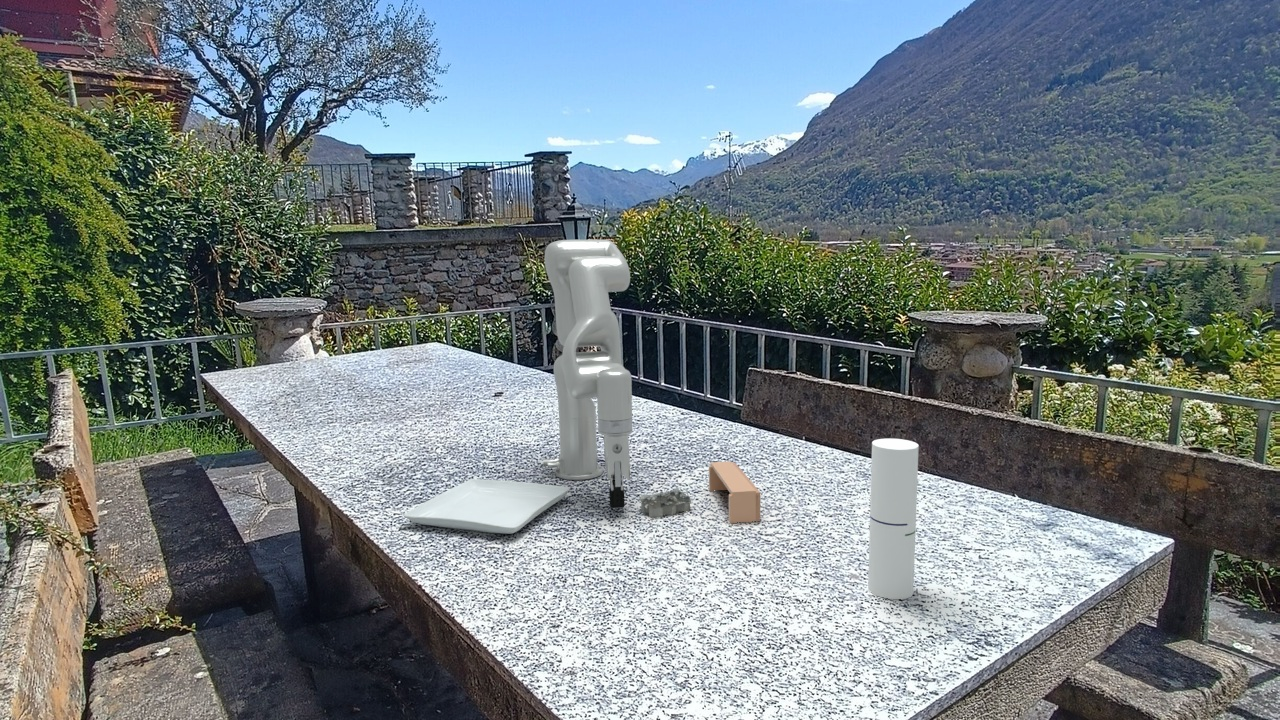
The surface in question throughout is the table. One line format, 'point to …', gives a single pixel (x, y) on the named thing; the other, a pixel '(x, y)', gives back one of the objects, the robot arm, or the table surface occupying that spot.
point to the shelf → (736, 491)
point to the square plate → (488, 505)
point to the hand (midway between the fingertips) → (617, 506)
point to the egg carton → (665, 503)
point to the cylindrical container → (893, 518)
